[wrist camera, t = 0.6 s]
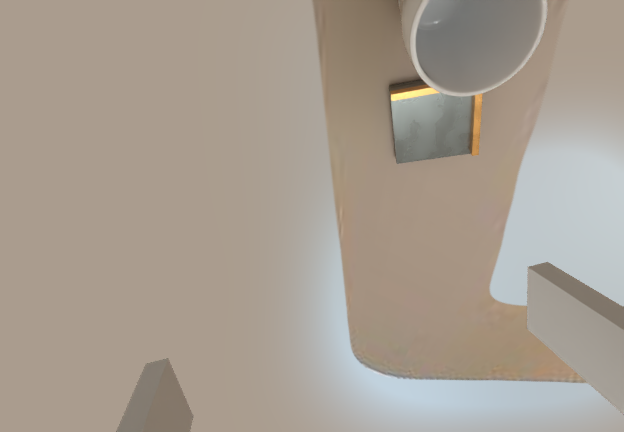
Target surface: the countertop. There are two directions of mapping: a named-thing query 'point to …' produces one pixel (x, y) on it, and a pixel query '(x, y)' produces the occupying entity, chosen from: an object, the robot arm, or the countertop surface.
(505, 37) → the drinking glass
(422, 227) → the countertop surface
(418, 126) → the square coaster
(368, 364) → the countertop surface
